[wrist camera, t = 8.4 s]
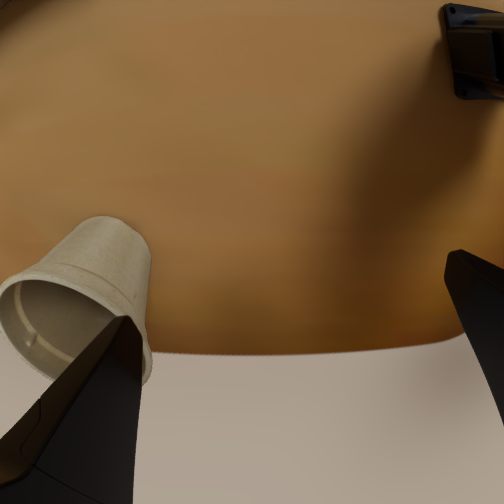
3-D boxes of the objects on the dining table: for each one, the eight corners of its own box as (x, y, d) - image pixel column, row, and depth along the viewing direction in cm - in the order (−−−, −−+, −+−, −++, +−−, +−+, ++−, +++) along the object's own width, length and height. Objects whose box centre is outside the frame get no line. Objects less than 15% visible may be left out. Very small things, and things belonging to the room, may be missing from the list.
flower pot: (200, 279, 23) (188, 381, 16) (106, 317, 25) (76, 404, 18) (124, 166, 18) (59, 242, 11) (33, 231, 20) (-29, 308, 13)
